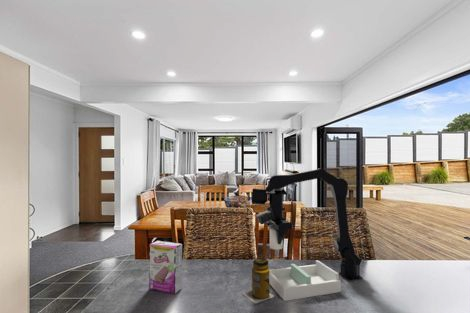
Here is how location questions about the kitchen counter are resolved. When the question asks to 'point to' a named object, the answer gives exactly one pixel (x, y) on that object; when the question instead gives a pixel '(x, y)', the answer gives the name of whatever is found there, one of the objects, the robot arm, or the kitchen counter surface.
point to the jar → (274, 239)
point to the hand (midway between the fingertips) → (276, 242)
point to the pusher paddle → (300, 275)
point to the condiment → (259, 281)
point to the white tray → (290, 289)
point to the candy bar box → (165, 267)
